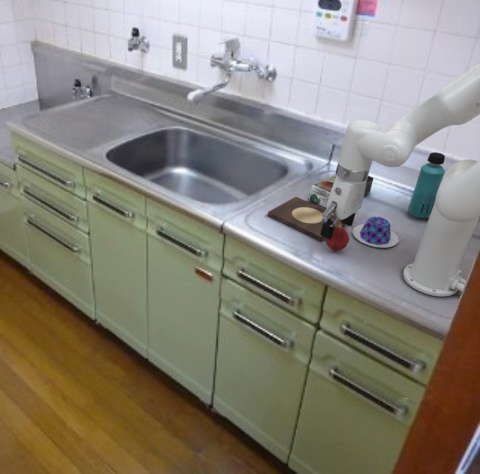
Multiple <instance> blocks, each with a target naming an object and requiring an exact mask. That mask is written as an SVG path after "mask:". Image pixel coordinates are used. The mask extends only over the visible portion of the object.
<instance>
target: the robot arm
mask: <svg viewBox="0 0 480 474" xmlns="http://www.w3.org/2000/svg"><path fill="white" fill-rule="evenodd" d="M479 115H480V62H479V63H478V64H476V65H475V66H473V68H470V69H469V70H468V71H467V72H465V73H464V74H463V75H461V76H460V77H458V78H456V79H455V80H453V82H451V83H450V84H448V85H447V86H445V87H444V88H442V89H441V90H440V91H438V92H437V93H434V94H433V95H432V96H430V97H429V98H428V99H426V100H424V101H423V102H421V103H420V104H418V105H417V106H415V107H414V108H412V109H411V110H410V111H409V112H406V114H404V115H402V116H401V117H400V118H399V119H397V120H396V121H394V122H393V123H392V124H391V125H389V126H388V127H387V129H386V130H385V131H383V132H382V131H381V130H382V129H381V128H380V125H378V124H377V123H375V122H373V121H371V120H367V119H356V120H352V121H351V122H349V123H348V124H347V126H346V130H345V134H344V138H343V141H342V145H341V149H340V152H339V153H340V154H339V156H338V157H339V158H338V160H337V164H336V170H335V172H334V175H335V176H336V179H335V181H334V184H333V187H332V190H331V193H330V196H329V199H328V203H327V207H326V208H325V209H326V210H325V211H324V213H323V215H322V216H323V218H322V223H323V225H322V229H321V233H320V235H321V236H323V237H325V239H326V238H327V239H329V240H331V239H332V237H333V234H334V230H335V226H334V225H335V223H336V221H337V220H338V218H339V219H340V220H341V222H342V223H344V224H346V225H345V226H347V227H352V226H353V224H354V221H355V217H356V214H357V212H358V211H360V209H361V207H362V204H363V201H364V197H365V196H364V192H365V188H366V182H367V178H368V176H369V174H370V170H371V168H372V164H373V162H375V163H377V164H379V165H381V166H384V167H388V168H398V167H400V166H402V165H404V164H406V162H407V161H408V160H409V158H410V156H411V155H412V153H413V151H414V149H415V147H416V146H418V145H419V144H420V143H422V142H423V141H425V140H426V139H428V138H430V137H431V136H433V135H434V134H436V133H437V132H439V131H441V130H443V129H445V128H448V127H451V126H461V125H465V124H467V123H468V122H471V121H472V120H473V119H475V118H477V117H478V116H479ZM333 211H334V212H333ZM332 212H333V213H332ZM334 213H335V214H334ZM330 215H331V216H333V217H335V218H334V219H333V221H331V219H329V218H330ZM479 219H480V160H476V159H463V160H459V161H456V162H455V163H453V164H452V165H450V166H449V167H448V168H447V169H446V170H445V174H444V176H443V178H442V181H441V183H440V186H439V189H438V191H437V194H436V200H435V203H434V206H433V209H432V212H431V214H430V216H429V217H428V221H427V223H426V225H425V229H424V232H423V235H422V238H421V241H420V243H419V247H418V249H417V252H416V255H415V258H414V261H413V262H411V263H409V264H407V265H406V266H405V267H404V269H403V271H402V272H403V273H402V276H403V279H404V280H405V282H406V283H407V284H408V285H409V286H410V287H411V288H413V289H415V290H416V291H418V292H420V293H423V294H424V295H425V294H426V295H429V296H433V297H439V298H440V297H450V296H452V295H455V294H456V293H457V292H458V291H460V292H461V293H463V292H462V291H463V288H464V285H465V283H466V280H467V279H464V278H462V276H460V275H461V274H462V270H461V269H460V266H461V264H462V262H463V260H464V256H465V254H466V251H467V249H468V247H469V245H470V242H471V239H472V237H473V235H474V232H475V229H476V227H477V224H478V222H479Z"/></svg>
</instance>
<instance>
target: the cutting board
mask: <svg viewBox="0 0 480 474" xmlns="http://www.w3.org/2000/svg"><path fill="white" fill-rule="evenodd" d="M325 210H326V208H325V207H322V206H320V205H317V204H314V203H312V202H311V201H307V200H306V199H302V198H300V197H298V196H295V197H292V198H290V199H289V200H286V201H285V202H283V203H281V204H280V205H277V206H276V207H274V208H272V209H271V210H269V211H268V212H267V217H269V218H271V219H273V220H275V221H277V222H278V223H281V224H283V225H285V226H287V227H289V228H291V229H293V230H296V231H298V232H300V233H302V234H304V235H307V236H309V237H310V238H312V239H315V240H316V241H319V242H322V241H323V240H326V238H325V237H323V236H321V235H320V233H321V229H322V225H323V223H322V218H323V216H322V215H323V213H324V211H325ZM332 213H334V214H336V212H332ZM334 218H335V217H333V216H331V215H330V218H329V219H331V221H333V219H334ZM340 224H341V225H343V227H344V226H347V225H346V224H344V223H342V222H341V220H340V219H339V218H338V220H337V221H336V223H335V225H334V226H335V227H338V226H339V225H340Z"/></svg>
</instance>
